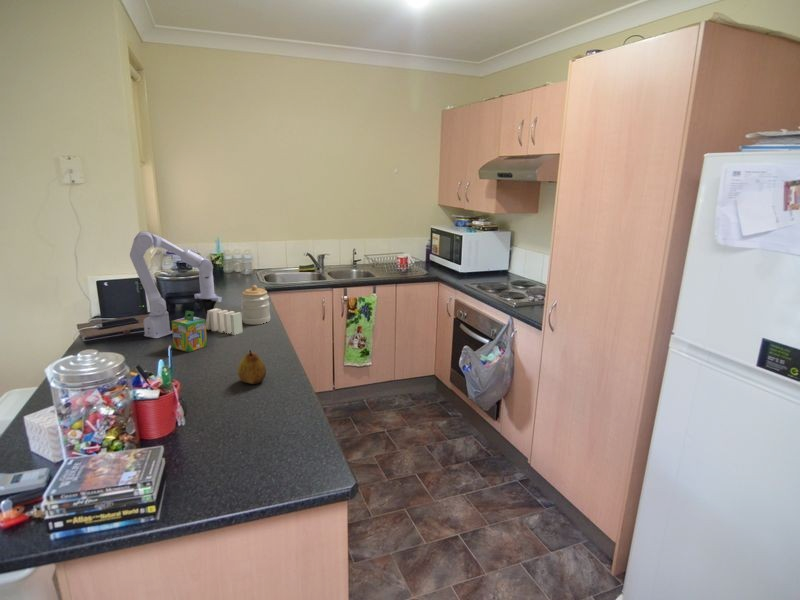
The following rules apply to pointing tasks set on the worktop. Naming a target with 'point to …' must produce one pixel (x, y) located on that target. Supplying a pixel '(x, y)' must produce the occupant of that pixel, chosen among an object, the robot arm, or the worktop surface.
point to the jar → (255, 306)
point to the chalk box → (189, 333)
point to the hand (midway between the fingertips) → (209, 315)
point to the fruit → (251, 369)
